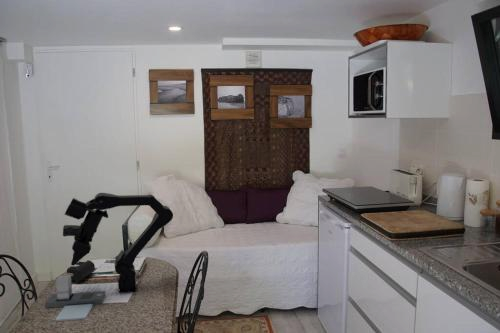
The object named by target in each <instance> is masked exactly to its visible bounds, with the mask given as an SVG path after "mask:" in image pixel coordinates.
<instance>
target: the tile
mask: <svg viewBox="0 0 500 333" xmlns="http://www.w3.org/2000/svg"><path fill="white" fill-rule="evenodd" d="M93 307H94V305H93V304H84V305H70V306H64V307H62V309H61V310H60V313H59V314H58V315H57V317H56V318H55V323H56V322H64V321H79V320H80V321H81V320H87V318H88V316H89V314H90V312H91V309H92V308H93Z"/></svg>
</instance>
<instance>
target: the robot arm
mask: <svg viewBox="0 0 500 333" xmlns="http://www.w3.org/2000/svg"><path fill="white" fill-rule="evenodd" d="M132 206H134V207H136V206H138V207H139V206H149V207H150V208H151V209H152V210H153V211H154V212H155V213H154V215H153V218H152V220H151V222H150V223H149V224H148V225H147V227H146V228H145V229H144V230H143V231H142V233H141V234H140V235H139V236H138V238H136V240H135V241H133V243H132V245H131V246H130V247H129V248H127V249H126V250H125V251H124V250H123V249H121V250H120V252H118V254H117V255H116V256H115V259H114V262H113V264H114V271H115V273H116V274H118V275H119V277H118V278H117V279H118V280H117V289H118V293H120V294H122V293H133V292H134V293H135V292H136V291H137V288H138V283H137V282H138V281H137V272H136V268H135V264H134V263H135V260H136V259H137V256H138V255H139V254H140V253H141V252H142V251H143V249H144V248H145V247H146V246H147V244H148V243H149V242H150V241H151V240H152V238H153V237H154V236H156V234H157V232H158V231H159V230H160V229H162V228H163V227H165V226H166V225H167V224H169V223H170V222H171V221H172V220H173V218H174V213H173V211H172V209H171V208H170V207H169V206H167V205H163V204H162V203H161V202H160V201H159V200H158V199H157V198H156V197H155V195H153V194H142V195H141V194H140V195H139V194H137V195H134V194H133V195H116V194H114V193H113V194H112V193H106V192H98V193H97V194H96V195H95V196H94V198H92V199H90V200H89V201H86V202H84V201H82V200H81V201H80V200H79V199H76V198H72V199H71V201H70V203H69V204H68V205H67V208H66V210H65V212H64V216H67V217H70V218H73V219H76V220H79V221H80V220H82V219H84V220H83V221H82V222H80V225H78V224H77V225H74V224H64V225H63V228H62V236H63V237H73V239H74V242H73V243H72V245H71V249H72V251H73V254H72V259H71V262H70V263H71V264H70V265H71V266H76V263H78V262H80V261H81V260H82V259H84V257H85V256H86V255H88V254H89V253H90V251H91V249H92V245H91V243H92V242H93V238H94V235H95V234H96V233H97V231H98V228H99V225H100V224H101V221H102V219H103V218H105V219H108V218H109V213H108V211H107V210H110V209H113V208H116V207H132Z"/></svg>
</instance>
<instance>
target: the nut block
mask: <svg viewBox="0 0 500 333" xmlns="http://www.w3.org/2000/svg"><path fill="white" fill-rule="evenodd" d="M71 276H72V275H71V274H69V275H59V276H58V277H57V278H56V280H55V281H56V283H55V284H56V294H57V298H58V301H67V300H71V298H72V293H73V289H72V288H73V286H72V283H71Z"/></svg>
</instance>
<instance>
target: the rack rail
mask: <svg viewBox="0 0 500 333" xmlns="http://www.w3.org/2000/svg"><path fill="white" fill-rule="evenodd" d="M106 292H107V291H106V290H101V291H99V290H97V291H82V292H72V298H71V300H67V301H58V298H57V293H55V294H51V295H50V296H49V297H48V299H46V301H45V302H44V308H45V309H52V308H64V306H70V305H84V304H93V306H94V305H95V306H96V305H103V303H104V300H105V298H106V296H107V295H106Z"/></svg>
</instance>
